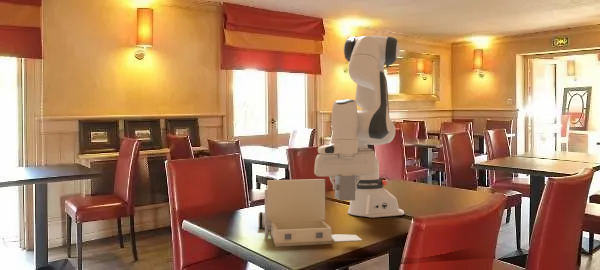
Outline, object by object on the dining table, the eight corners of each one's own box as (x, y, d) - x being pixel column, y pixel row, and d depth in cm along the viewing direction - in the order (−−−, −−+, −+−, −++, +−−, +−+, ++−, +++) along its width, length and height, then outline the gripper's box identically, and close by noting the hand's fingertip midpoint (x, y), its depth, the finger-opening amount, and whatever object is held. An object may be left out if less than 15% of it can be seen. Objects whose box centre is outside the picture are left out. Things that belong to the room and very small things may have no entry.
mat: (354, 234, 158) (354, 233, 158) (362, 241, 149) (362, 239, 149) (328, 235, 157) (328, 234, 157) (335, 242, 148) (335, 241, 148)
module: (349, 197, 156) (349, 172, 156) (355, 200, 150) (355, 174, 149) (335, 197, 156) (335, 172, 156) (340, 200, 149) (340, 174, 149)
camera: (260, 224, 177) (259, 198, 177) (282, 223, 177) (282, 198, 177) (258, 233, 161) (257, 205, 161) (282, 233, 161) (282, 205, 161)
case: (324, 233, 161) (324, 179, 161) (335, 244, 146) (334, 184, 145) (264, 235, 158) (263, 180, 157) (268, 247, 142) (267, 186, 142)
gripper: (371, 147, 157) (371, 187, 157) (313, 147, 154) (313, 189, 154) (377, 148, 151) (377, 190, 151) (316, 148, 148) (316, 191, 148)
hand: (344, 189), depth 153 cm, fingers closed on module, 5 cm apart
